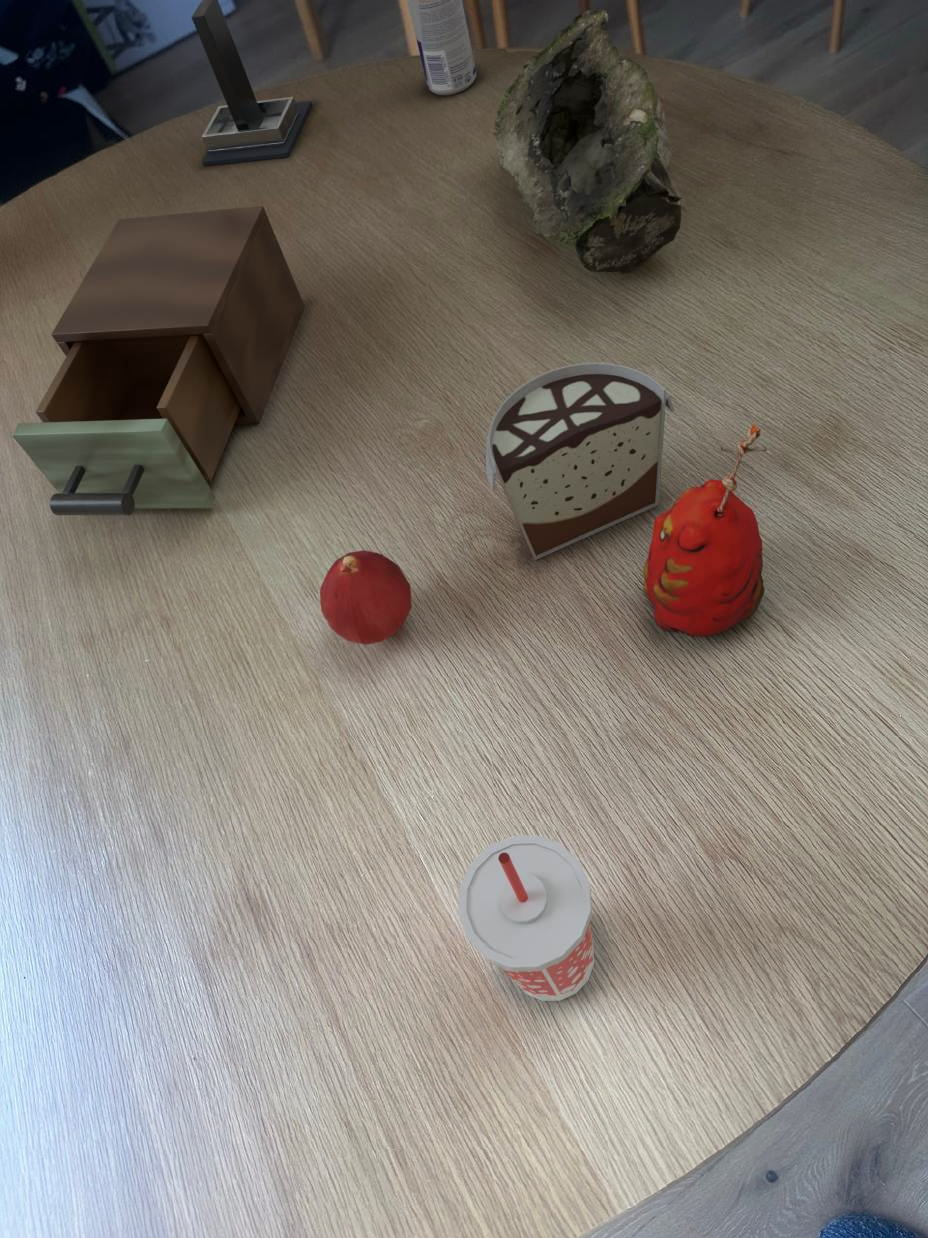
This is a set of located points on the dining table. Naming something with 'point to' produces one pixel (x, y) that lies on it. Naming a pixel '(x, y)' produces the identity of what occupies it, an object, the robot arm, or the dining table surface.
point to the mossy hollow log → (590, 149)
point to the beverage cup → (530, 915)
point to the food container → (578, 451)
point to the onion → (365, 597)
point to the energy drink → (443, 44)
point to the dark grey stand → (238, 93)
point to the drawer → (132, 425)
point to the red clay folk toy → (706, 557)
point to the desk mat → (263, 152)
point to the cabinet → (195, 293)
